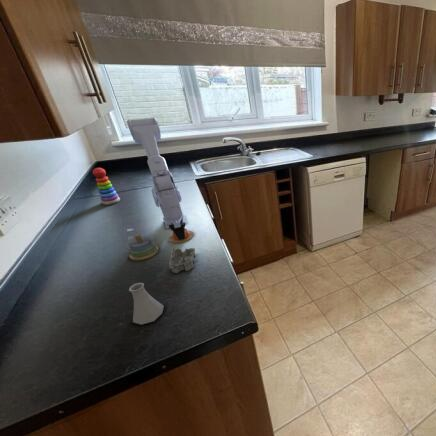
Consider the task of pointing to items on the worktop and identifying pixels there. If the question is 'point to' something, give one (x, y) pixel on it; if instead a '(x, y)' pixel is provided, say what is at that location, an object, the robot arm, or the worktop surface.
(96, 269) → the worktop surface
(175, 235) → the orange ring
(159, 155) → the robot arm
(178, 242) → the cork coaster
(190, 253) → the egg carton
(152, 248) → the ring stack
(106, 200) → the stacking toy
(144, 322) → the flask
